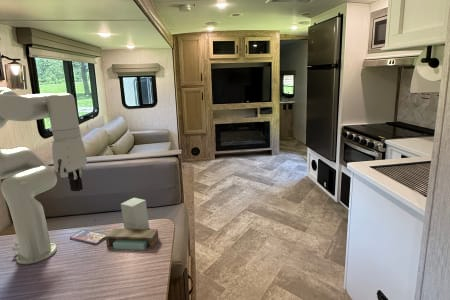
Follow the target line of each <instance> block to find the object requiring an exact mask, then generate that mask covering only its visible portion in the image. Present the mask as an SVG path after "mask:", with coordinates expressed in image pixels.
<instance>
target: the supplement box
mask: <svg viewBox="0 0 450 300" xmlns="http://www.w3.org/2000/svg"><path fill="white" fill-rule="evenodd" d="M120 208H121V215H122V220H123V222H122V223H123V229H150V225H149V224H150V222H149V215H148V209H147V200H146V199H142V198H138V197H132V198H130V199H128V200H126V201H123V202H122V203H120Z"/></svg>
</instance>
